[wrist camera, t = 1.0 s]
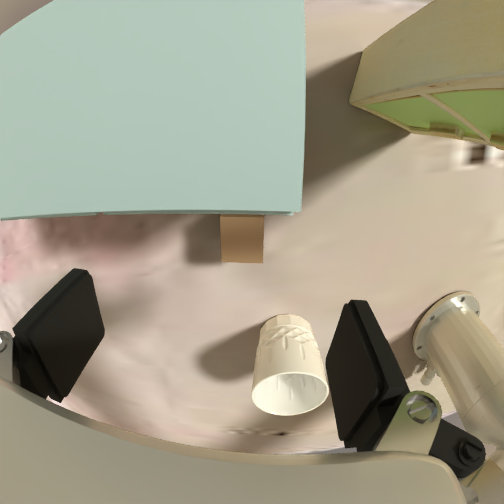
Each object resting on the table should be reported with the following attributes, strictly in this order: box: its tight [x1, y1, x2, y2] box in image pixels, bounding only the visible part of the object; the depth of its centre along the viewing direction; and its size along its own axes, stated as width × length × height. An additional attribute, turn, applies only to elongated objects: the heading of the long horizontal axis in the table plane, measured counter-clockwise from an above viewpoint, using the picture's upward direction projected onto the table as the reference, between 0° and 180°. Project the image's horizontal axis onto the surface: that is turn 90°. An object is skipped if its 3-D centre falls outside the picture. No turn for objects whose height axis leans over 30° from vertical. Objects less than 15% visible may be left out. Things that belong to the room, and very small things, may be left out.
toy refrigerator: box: [349, 0, 504, 150], centre depth 13 cm, size 8×7×21 cm
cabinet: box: [0, 0, 306, 221], centre depth 16 cm, size 11×16×18 cm
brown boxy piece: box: [220, 214, 264, 263], centre depth 24 cm, size 13×4×6 cm, turn 179°
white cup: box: [251, 314, 329, 416], centre depth 30 cm, size 8×8×10 cm
